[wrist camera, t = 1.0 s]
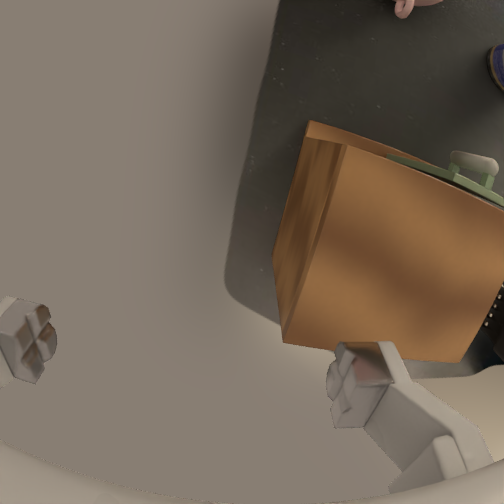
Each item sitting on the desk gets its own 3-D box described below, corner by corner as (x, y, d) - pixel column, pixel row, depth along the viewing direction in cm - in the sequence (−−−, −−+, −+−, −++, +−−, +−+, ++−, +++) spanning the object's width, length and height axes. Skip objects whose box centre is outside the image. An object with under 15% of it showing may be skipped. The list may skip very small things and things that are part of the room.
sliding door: (394, 127, 26) (465, 134, 15) (446, 151, 26) (523, 170, 16) (385, 159, 27) (452, 181, 16) (438, 180, 28) (511, 211, 17)
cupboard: (308, 120, 27) (355, 114, 14) (440, 168, 28) (533, 202, 15) (271, 255, 32) (282, 343, 19) (398, 284, 33) (458, 363, 20)
